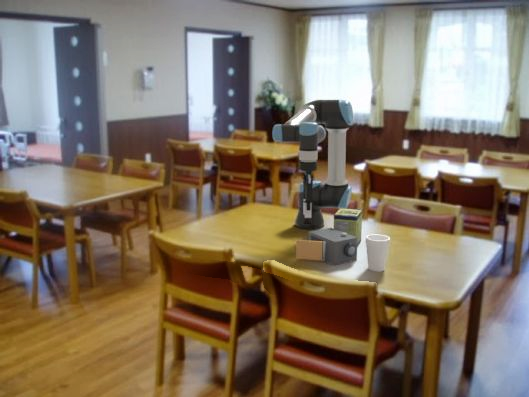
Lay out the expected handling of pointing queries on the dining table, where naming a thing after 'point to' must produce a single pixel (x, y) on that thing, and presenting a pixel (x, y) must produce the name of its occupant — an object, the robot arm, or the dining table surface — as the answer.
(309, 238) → the camera body
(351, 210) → the protein box
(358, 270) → the dining table surface
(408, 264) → the dining table surface
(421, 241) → the dining table surface
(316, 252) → the side door
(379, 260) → the foam cup
